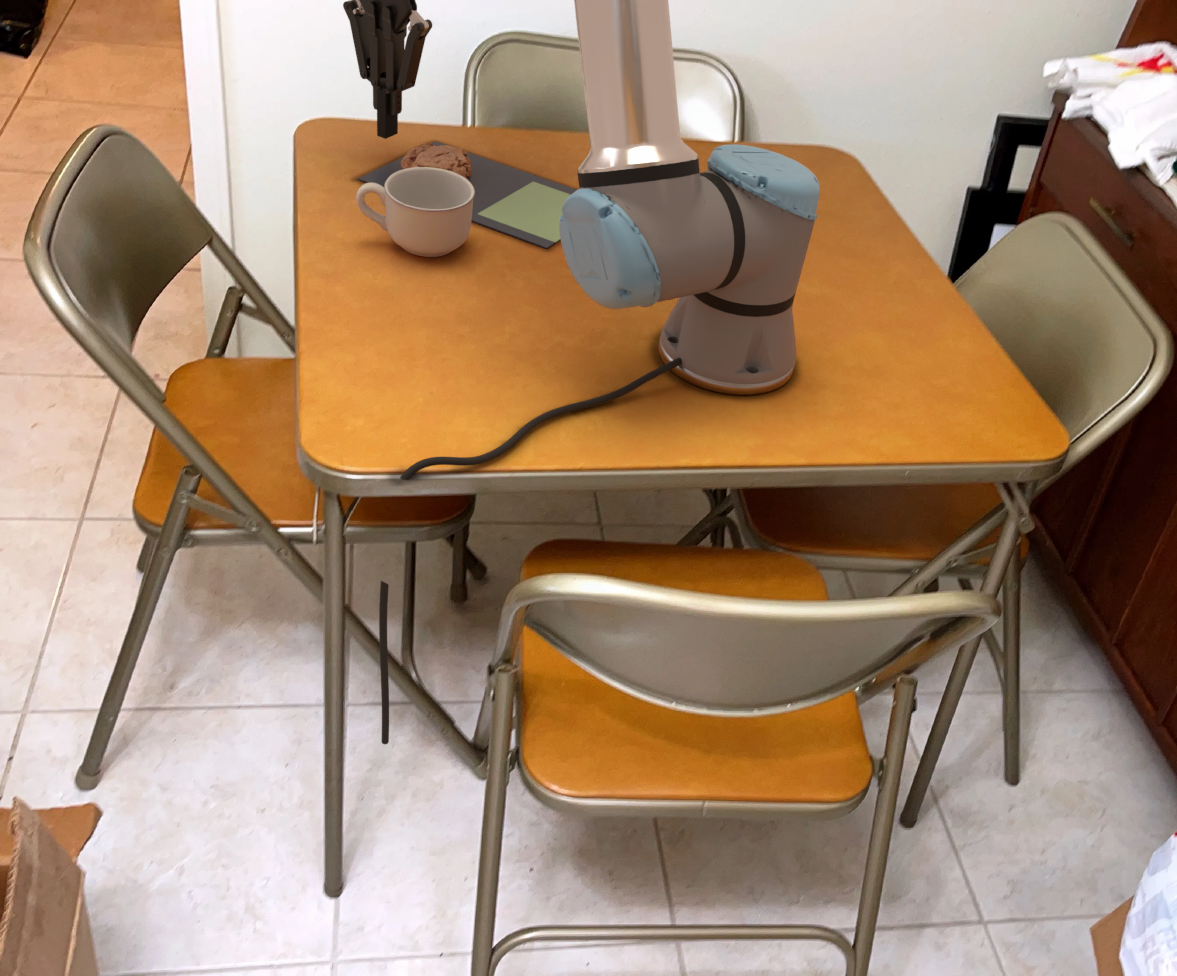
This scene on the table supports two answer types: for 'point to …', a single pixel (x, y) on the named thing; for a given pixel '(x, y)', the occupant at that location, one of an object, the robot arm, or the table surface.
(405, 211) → the teacup
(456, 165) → the cookie
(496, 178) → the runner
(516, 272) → the table surface
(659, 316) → the table surface
